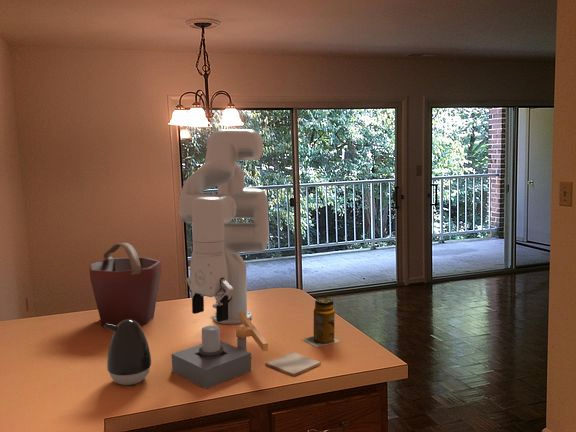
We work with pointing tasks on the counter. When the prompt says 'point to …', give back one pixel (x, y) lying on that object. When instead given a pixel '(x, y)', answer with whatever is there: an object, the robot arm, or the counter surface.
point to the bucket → (125, 286)
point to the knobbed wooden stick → (250, 332)
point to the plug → (210, 343)
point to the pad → (293, 363)
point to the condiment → (323, 323)
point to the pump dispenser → (128, 353)
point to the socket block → (212, 364)
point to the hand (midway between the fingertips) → (210, 316)
